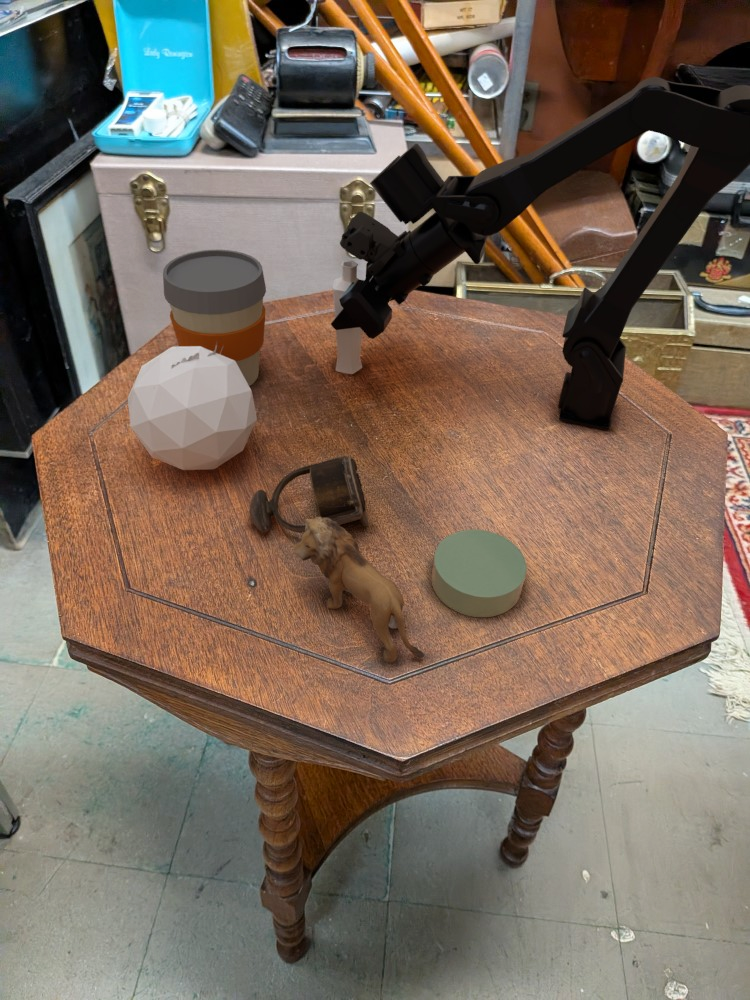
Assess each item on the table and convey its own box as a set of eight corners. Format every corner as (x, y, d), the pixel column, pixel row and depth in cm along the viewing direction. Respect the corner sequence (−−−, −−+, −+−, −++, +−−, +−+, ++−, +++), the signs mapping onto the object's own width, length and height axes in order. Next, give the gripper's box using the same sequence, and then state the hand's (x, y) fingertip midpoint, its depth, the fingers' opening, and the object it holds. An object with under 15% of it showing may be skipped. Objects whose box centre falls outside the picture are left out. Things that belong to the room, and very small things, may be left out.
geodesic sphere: (204, 354, 91) (140, 297, 78) (299, 386, 86) (249, 332, 73) (152, 461, 89) (77, 421, 76) (247, 500, 85) (185, 466, 71)
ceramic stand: (527, 561, 75) (532, 541, 73) (513, 627, 68) (519, 607, 66) (442, 541, 76) (445, 520, 74) (421, 603, 70) (424, 583, 68)
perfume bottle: (369, 361, 103) (372, 259, 93) (358, 377, 100) (360, 273, 90) (338, 355, 104) (339, 253, 94) (327, 370, 101) (326, 267, 91)
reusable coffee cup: (163, 367, 100) (143, 262, 90) (243, 342, 105) (234, 241, 95) (204, 411, 92) (188, 302, 82) (289, 381, 98) (283, 276, 88)
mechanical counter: (363, 524, 70) (385, 447, 76) (236, 494, 71) (268, 419, 77) (358, 561, 76) (379, 487, 82) (241, 533, 77) (270, 461, 82)
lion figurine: (288, 593, 70) (283, 526, 64) (325, 563, 73) (324, 497, 67) (406, 678, 64) (413, 613, 58) (441, 641, 67) (452, 576, 61)
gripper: (403, 172, 92) (322, 244, 101) (357, 225, 78) (269, 302, 88) (457, 242, 95) (374, 305, 105) (422, 304, 82) (331, 370, 92)
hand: (339, 318), depth 97 cm, fingers closed on perfume bottle, 4 cm apart
